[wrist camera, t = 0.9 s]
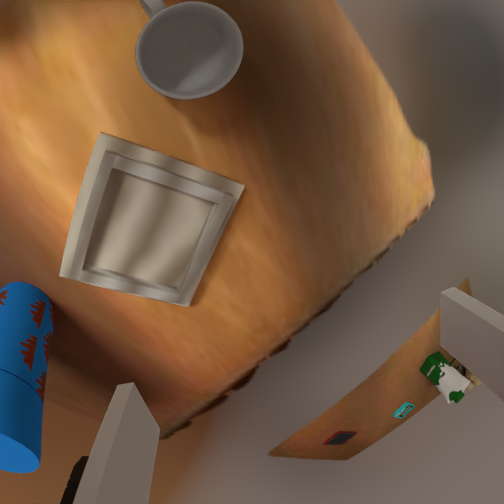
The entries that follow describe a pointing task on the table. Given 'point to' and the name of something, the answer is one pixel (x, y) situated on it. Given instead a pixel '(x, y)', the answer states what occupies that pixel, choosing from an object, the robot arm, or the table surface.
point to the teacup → (188, 49)
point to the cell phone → (339, 438)
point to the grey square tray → (146, 222)
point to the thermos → (23, 373)
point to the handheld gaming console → (402, 409)
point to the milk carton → (445, 377)
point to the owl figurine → (466, 374)
